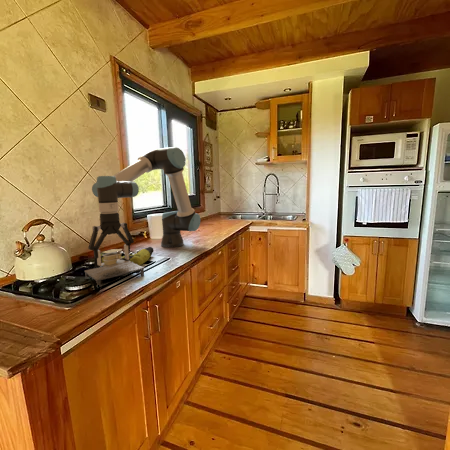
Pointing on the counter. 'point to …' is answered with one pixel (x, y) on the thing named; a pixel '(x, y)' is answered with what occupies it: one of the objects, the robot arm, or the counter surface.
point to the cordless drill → (133, 257)
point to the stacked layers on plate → (112, 258)
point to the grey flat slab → (113, 271)
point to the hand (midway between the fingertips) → (113, 262)
